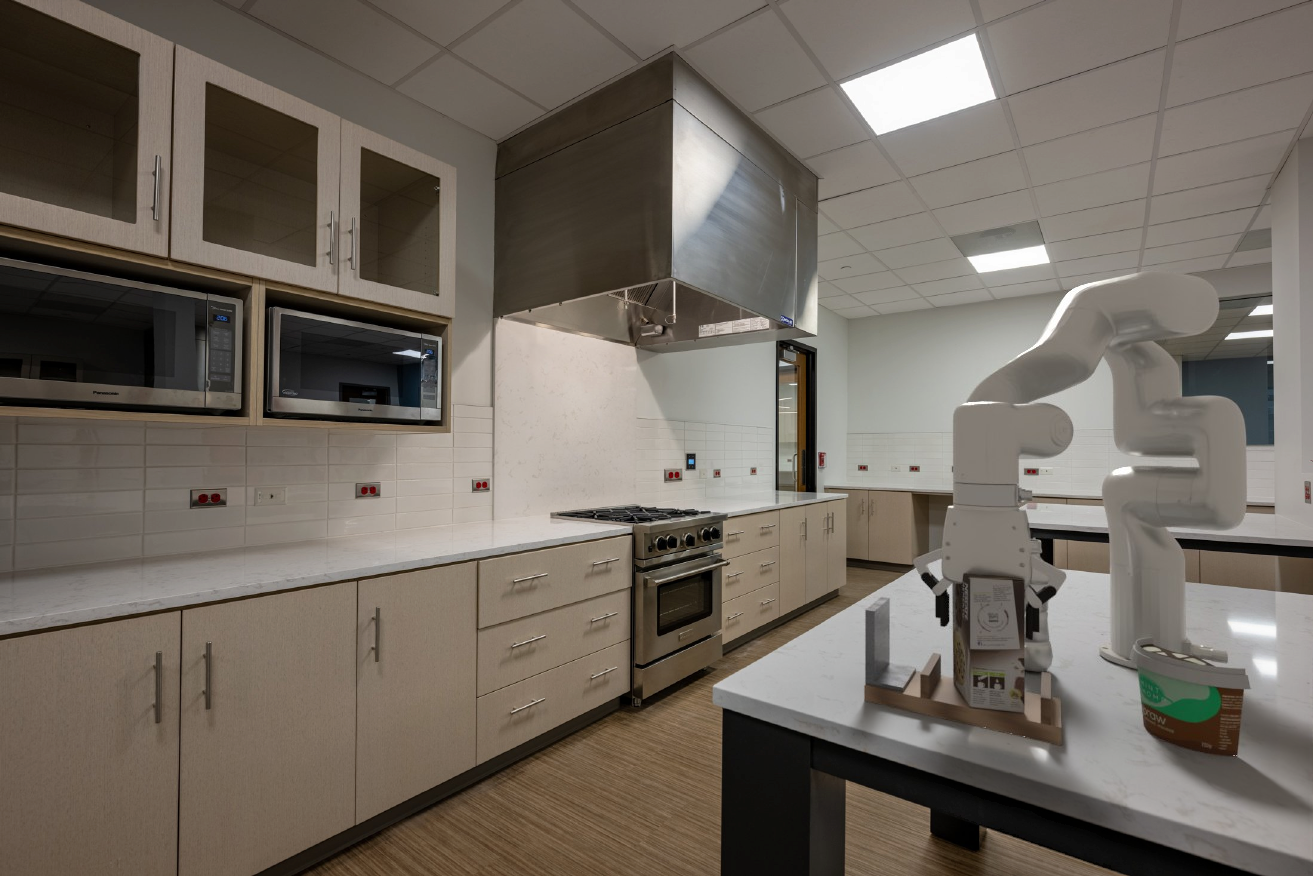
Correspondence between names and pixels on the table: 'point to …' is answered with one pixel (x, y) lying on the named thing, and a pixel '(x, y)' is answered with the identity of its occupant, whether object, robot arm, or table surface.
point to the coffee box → (989, 641)
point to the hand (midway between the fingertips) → (985, 630)
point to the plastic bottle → (1040, 646)
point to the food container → (1189, 699)
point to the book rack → (947, 702)
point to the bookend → (882, 650)
